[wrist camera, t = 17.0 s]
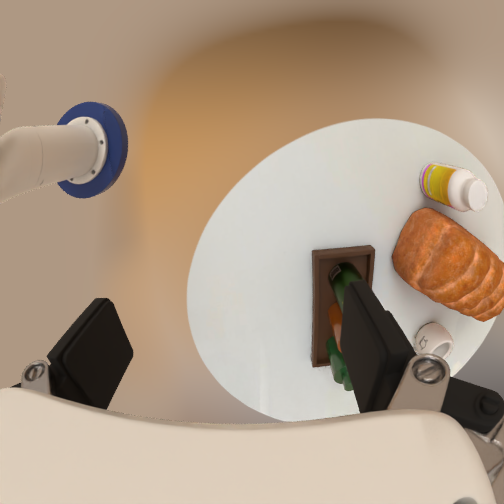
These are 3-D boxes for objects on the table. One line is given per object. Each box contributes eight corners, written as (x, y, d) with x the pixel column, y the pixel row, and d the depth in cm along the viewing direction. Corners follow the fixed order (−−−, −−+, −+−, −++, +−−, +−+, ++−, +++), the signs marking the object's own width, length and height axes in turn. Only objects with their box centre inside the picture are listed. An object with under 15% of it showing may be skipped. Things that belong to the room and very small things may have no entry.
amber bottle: (326, 324, 49) (340, 369, 38) (327, 302, 47) (343, 345, 36) (352, 321, 49) (370, 363, 38) (354, 299, 47) (375, 340, 36)
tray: (311, 360, 54) (312, 367, 52) (312, 250, 44) (314, 255, 42) (358, 354, 53) (360, 360, 51) (370, 245, 44) (375, 249, 42)
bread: (459, 301, 48) (495, 340, 34) (381, 265, 45) (421, 313, 31) (488, 249, 43) (530, 280, 28) (415, 197, 40) (470, 223, 26)
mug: (425, 313, 49) (442, 335, 42) (445, 321, 50) (461, 341, 43) (395, 354, 53) (407, 377, 46) (417, 359, 54) (429, 380, 47)
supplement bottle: (419, 200, 40) (462, 221, 28) (417, 162, 38) (463, 173, 26) (446, 196, 39) (490, 216, 27) (444, 161, 37) (491, 172, 25)
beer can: (321, 281, 46) (337, 322, 35) (337, 255, 44) (359, 291, 33) (346, 292, 46) (366, 333, 35) (361, 267, 45) (388, 304, 33)
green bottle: (324, 354, 52) (335, 397, 41) (325, 335, 50) (338, 380, 39) (348, 350, 52) (362, 392, 41) (350, 332, 50) (367, 374, 39)
